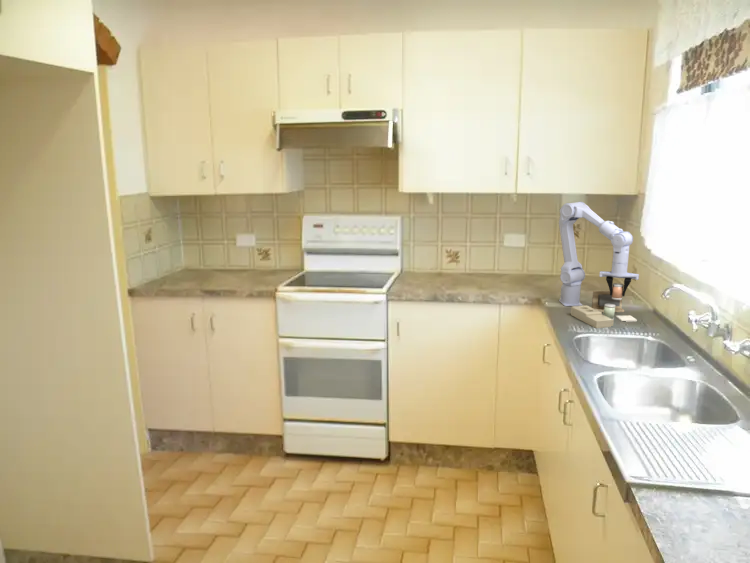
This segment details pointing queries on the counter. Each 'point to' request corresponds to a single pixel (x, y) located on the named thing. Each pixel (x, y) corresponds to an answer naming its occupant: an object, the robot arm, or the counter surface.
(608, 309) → the cylinder
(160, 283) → the counter surface
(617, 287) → the cylinder
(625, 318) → the pad
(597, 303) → the junction unit
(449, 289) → the counter surface
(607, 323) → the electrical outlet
